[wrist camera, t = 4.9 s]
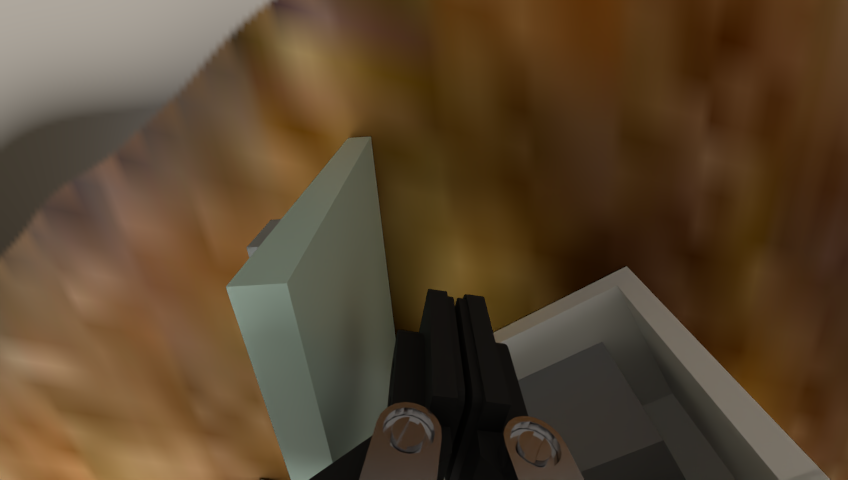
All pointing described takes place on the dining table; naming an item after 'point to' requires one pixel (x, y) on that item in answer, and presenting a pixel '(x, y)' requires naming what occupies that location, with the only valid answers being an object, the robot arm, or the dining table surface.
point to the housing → (642, 392)
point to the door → (321, 314)
